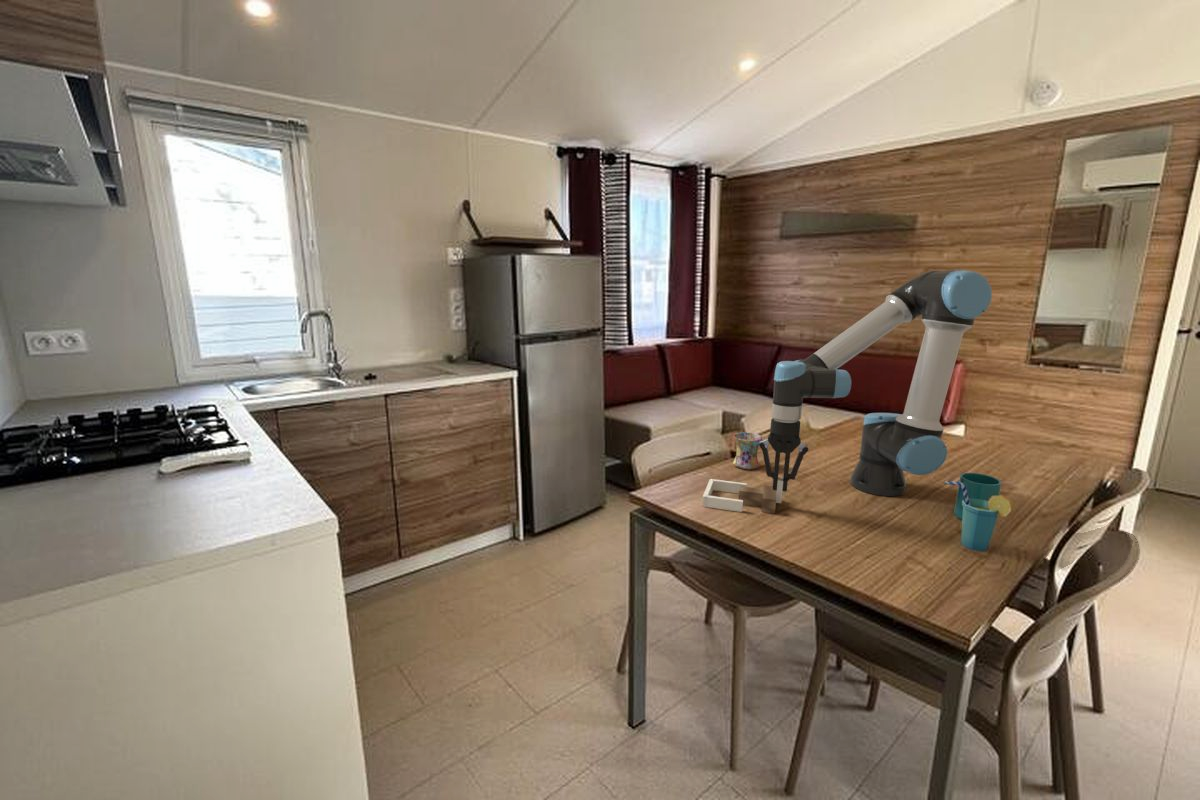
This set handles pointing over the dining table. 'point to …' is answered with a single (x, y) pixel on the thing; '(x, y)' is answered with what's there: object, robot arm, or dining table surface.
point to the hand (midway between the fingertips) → (778, 501)
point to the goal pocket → (720, 501)
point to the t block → (759, 497)
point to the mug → (746, 450)
